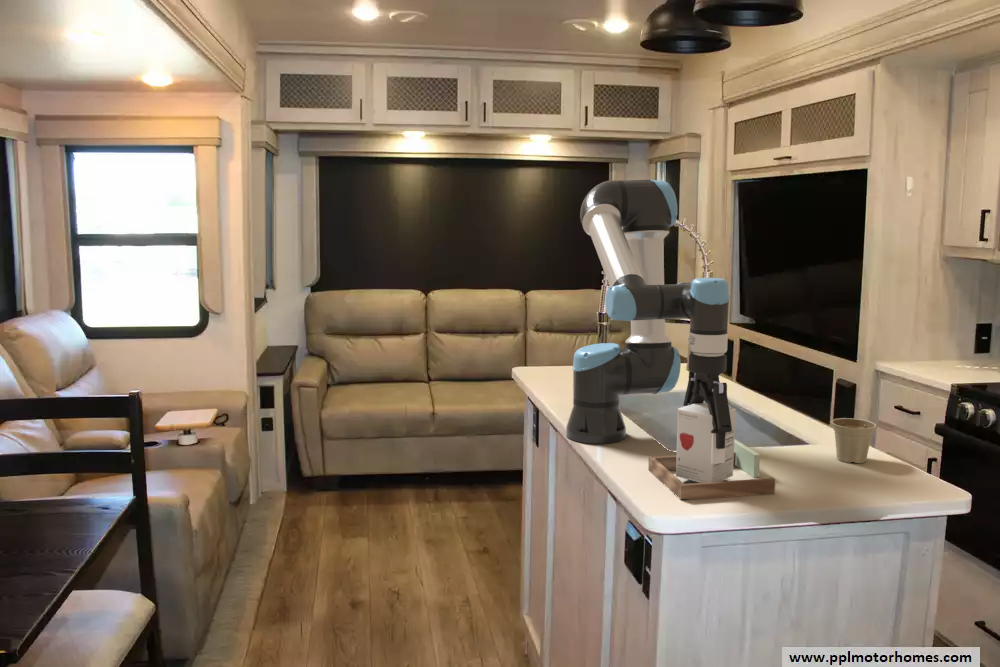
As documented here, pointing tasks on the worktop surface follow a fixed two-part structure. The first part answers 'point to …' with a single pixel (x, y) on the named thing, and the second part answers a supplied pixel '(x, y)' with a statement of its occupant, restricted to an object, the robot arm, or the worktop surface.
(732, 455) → the supplement box
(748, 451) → the green piece
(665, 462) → the housing
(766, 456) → the worktop surface
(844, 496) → the worktop surface
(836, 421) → the flower pot
